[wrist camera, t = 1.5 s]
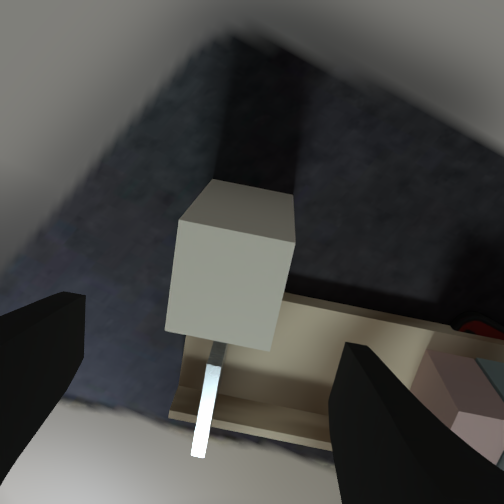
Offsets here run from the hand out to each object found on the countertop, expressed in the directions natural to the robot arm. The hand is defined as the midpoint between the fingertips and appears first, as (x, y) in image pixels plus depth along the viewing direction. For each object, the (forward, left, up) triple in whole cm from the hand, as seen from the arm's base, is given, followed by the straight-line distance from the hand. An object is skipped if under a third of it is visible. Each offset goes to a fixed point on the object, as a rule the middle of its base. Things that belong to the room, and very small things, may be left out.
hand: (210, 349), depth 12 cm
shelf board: (-7, +7, -11) cm, 14 cm away
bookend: (0, +7, -11) cm, 13 cm away
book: (0, 0, -11) cm, 11 cm away
